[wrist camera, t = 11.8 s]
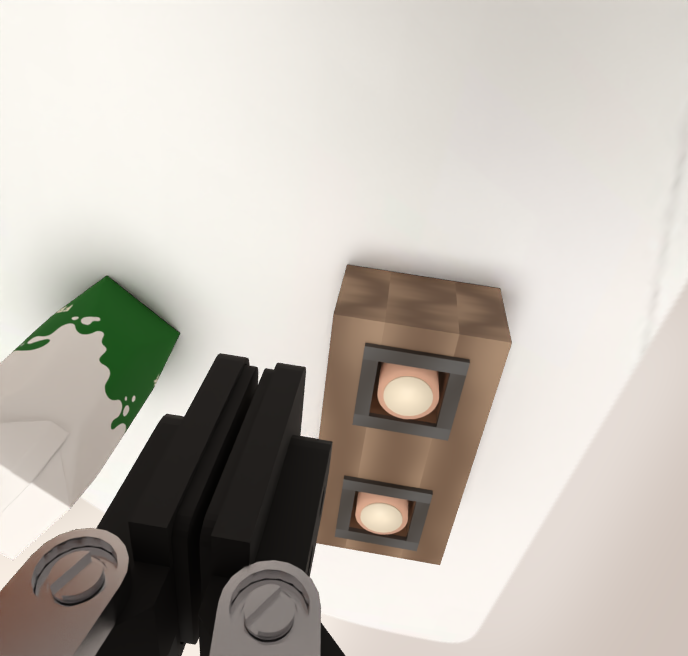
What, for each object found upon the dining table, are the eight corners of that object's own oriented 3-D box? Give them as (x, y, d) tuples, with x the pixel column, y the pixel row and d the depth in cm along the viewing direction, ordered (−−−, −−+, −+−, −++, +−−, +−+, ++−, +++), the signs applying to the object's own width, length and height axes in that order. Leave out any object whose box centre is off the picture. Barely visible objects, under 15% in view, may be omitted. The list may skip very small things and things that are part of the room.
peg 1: (442, 319, 43) (444, 377, 37) (432, 363, 45) (432, 425, 39) (388, 310, 43) (382, 367, 37) (380, 354, 45) (373, 415, 39)
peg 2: (413, 439, 49) (411, 505, 43) (406, 472, 51) (403, 539, 45) (367, 431, 49) (358, 496, 43) (361, 464, 52) (352, 531, 46)
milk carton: (102, 259, 44) (-98, 442, 27) (197, 334, 47) (67, 544, 30) (50, 325, 48) (-154, 520, 31) (139, 391, 51) (-4, 603, 34)
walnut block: (500, 288, 41) (512, 346, 35) (438, 498, 53) (440, 569, 47) (347, 264, 42) (332, 317, 36) (320, 477, 54) (305, 545, 47)
